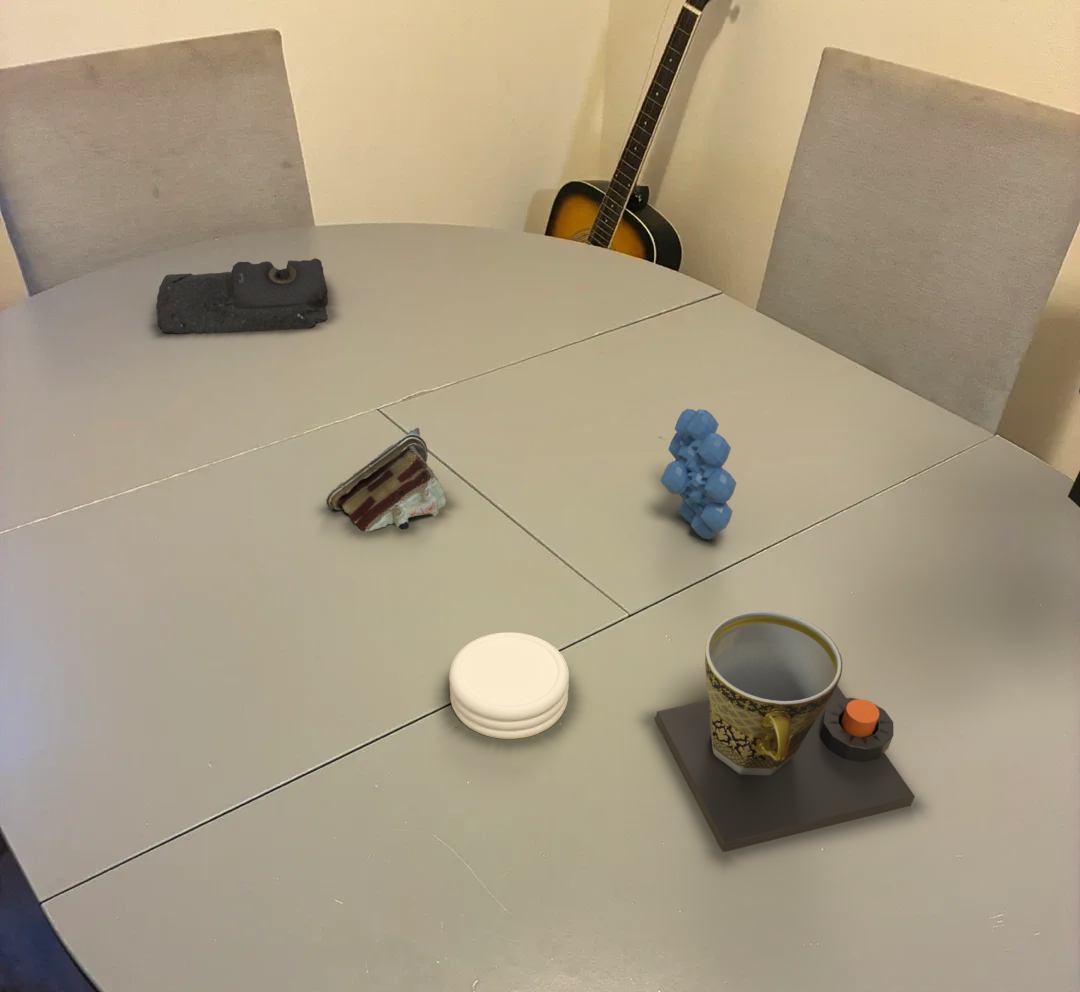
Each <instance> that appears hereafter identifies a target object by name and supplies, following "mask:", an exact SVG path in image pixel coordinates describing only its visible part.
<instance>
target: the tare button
mask: <svg viewBox="0 0 1080 992" xmlns="http://www.w3.org/2000/svg"><path fill="white" fill-rule="evenodd" d="M871 702H872V701H870V702H869V700H867V699H861V698H856V700H853V701H851V702H849V703H848V704H847V707H846V709H845V712H844V715H843V718H842V727H843V729H844V730H845V731H846V732H847V733H849V734H851V735H853V736H856V737H866V736H869V735H871V734H872V733H873V731H874V729H875V726H876V723H877V721H878V718H879V710H878V708H877V707H876V706H875V705H876V704H875V703H873V702H872V703H871ZM874 704H875V705H874ZM872 735H873V734H872Z"/></svg>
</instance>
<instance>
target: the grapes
mask: <svg viewBox="0 0 1080 992" xmlns="http://www.w3.org/2000/svg"><path fill="white" fill-rule="evenodd" d="M718 427H719V422H718V421H717V420H716V418H715V417H714V416H713V414H712V413H711V412H709V411H708V410H707V409H701V408H699V409H697V410H695V409H693V408H692V409H691V408H686V409H684V410H683V411H681V413H680V415H679V416H678V418H677V420H676V423H675V427H674V430H675V434H674V435H673V437H672V439H671V441H670V444H669V447H668V451H669V452H670V454H671V455H672V457H673V458H674V460H672V461H671V462H669V463H668V464H667V465H666V467H665V469H664V471H663V473H662V476H661V479H660V482H661V484H662V485H663V486H664V487H665V489H666V490H667V491H668V492H669V493H671V494H672V495H675V496H680V498H681V499H682V501H681V503H680V507H679V510H678V513H679V514H680V515H681V517H682V518H683V519H684V521H686V522H687V523H689V525H690V527H691V528H692V530H694V532H695V533H696V535H698V536H699V538H702V539H705V540H711V539H713V538H714V537H716V535H717V533H718V532H721V531H723V530H725V529H726V528H727V527H728V525H729V523H730V521H731V518H732V515H733V510H732V508H731V507H730V505H729V504H728V503H727V502H728V501H730V500H731V499H732V496H733V494H734V492H735V489H736V486H737V481H736V480H735V478H734V477H733V476H732V474H731V473H730V472H729V471H728V470H726V469H725V468H724V467H723V466H724V465H725V464H726V461H727V460H728V458H729V456H730V452H731V450H732V449H731V448H732V447H731V446H730V444H729V442H727V440H726V439H725V438H724V437H723V436H722V435H721V434H720V433H717V431H718Z"/></svg>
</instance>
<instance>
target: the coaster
mask: <svg viewBox="0 0 1080 992" xmlns="http://www.w3.org/2000/svg"><path fill="white" fill-rule="evenodd" d="M569 670H570V669H569V667H568V664H567V661H566V659H565V657H564V656H563V654H562V653H561V652H560V651H559V650H558V648H557V647H555V646H554V645H553V644H551V643H550V642H548V641H546V640H544V639H543V638H540V637H537V636H535V635H530V634H527V633H523V632H512V631H511V632H510V631H509V632H508V631H506V632H504V631H503V632H495V633H491V634H487V635H483V636H480V637H478V638H476V639H474V640H472V641H470V642H469V643H467V644H466V645H464V646H463V647H462V648H461V649H460V650H458V652H457V653H456V655H454V658H453V660H452V662H451V665H450V668H449V673H448V681H449V694H450V696H449V698H450V699H449V700H450V704H451V706H452V709H453V711H454V713H455V715H456V716H457V718H458V719H459V720H460V721H461V722H462V724H463V725H465V726H466V727H468V728H469V729H470V730H471V731H474V732H476V733H478V734H481V735H483V736H487V737H490V738H494V739H503V740H518V739H524V738H528V737H534V736H535V735H539V734H541V733H543V732H544V731H547V730H548V729H550V728H551V727H552V726H553V725H555V724H556V723H557V721H559V720H560V718H561V717H562V716H563V714H564V712H565V709H566V707H567V705H568V700H569V687H570V686H569V683H570V671H569Z"/></svg>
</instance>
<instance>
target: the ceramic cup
mask: <svg viewBox="0 0 1080 992" xmlns="http://www.w3.org/2000/svg"><path fill="white" fill-rule="evenodd" d="M704 651H705V652H704V655H705V657H704V660H705V661H704V667H705V679H706V680H705V681H706V687H707V693H708V699H709V700H710V726H711V738H712V747H713V753H714V755H715V756H716V757H717V758H718V759H720V760H721V761H722V762H724V763H725V764H726V765H728V766H729V767H731V768H732V769H733V770H735V771H736V772H738V773H739V774H741V775H766V776H770V775H772V774H773V773H775V772H776V771H777V770H778V769H780V768H781V767H782V766H783V765H784V764H786V763H787V762H788V761H789V760H790V759H792V758H793V757H794V755H795V753H796V752H797V750H798V749H799V747H800V745H801V744H802V742H803V740H804V738H805V737H806V735H807V734H808V732H809V730H810V729H811V727H812V725H813V724H814V722H815V720H816V718H817V717H818V715H819V714H820V713H821V711H822V710H823V709H824V707H825V706H826V704H827V702H828V701H829V699H830V697H831V696H832V694H833V692H834V690H835V689H836V686H838V684H839V682H840V681H841V677H842V674H843V658H842V655H841V652H840V650H839V648H838V646H837V645H836V643H835V642H834V640H833V639H832V638H831V637H830V636H829V635H828V634H827V633H826V632H825V631H824V630H822V629H821V628H820V627H818V626H816V625H814V624H813V623H812V622H809V621H808V620H805V619H803V618H800V617H798V616H795V615H793V614H789V613H784V612H778V611H773V610H771V611H770V610H756V611H755V610H754V611H747V612H741V613H739V614H736V615H735V614H734V615H732V616H730V617H728V618H726V619H724V620H723V621H721V622H720V623H718V624H717V625H716V626H715V627H714V628H713V629H712V630H711V632H710V634H709V635H708V637H707V640H706V643H705V649H704Z"/></svg>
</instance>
